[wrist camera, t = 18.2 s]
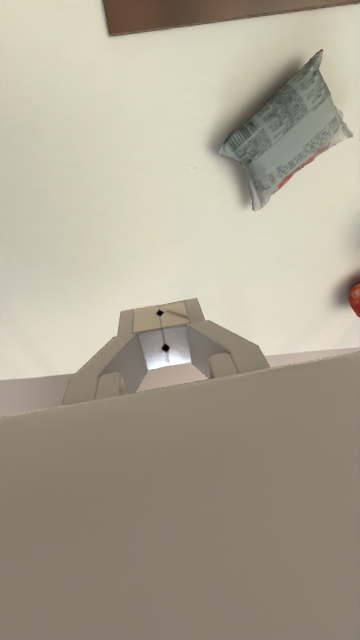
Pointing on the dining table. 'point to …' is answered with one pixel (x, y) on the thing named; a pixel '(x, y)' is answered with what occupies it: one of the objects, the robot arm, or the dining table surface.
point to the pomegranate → (355, 299)
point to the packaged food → (287, 133)
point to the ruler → (196, 12)
